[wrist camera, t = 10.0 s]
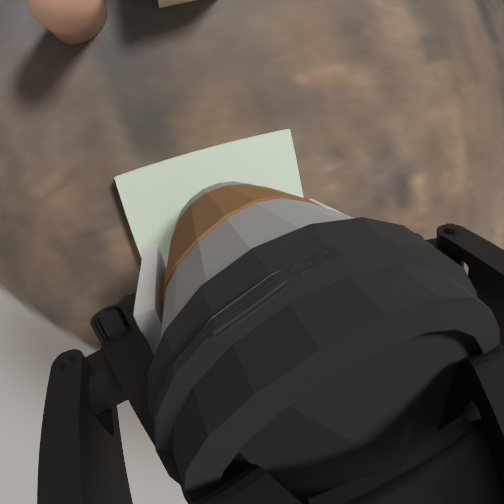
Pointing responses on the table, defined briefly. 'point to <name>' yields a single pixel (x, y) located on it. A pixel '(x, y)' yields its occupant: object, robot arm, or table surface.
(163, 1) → the maple cube
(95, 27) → the pink rounded piece
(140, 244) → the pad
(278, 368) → the coffee cup
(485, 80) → the table surface
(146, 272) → the robot arm
